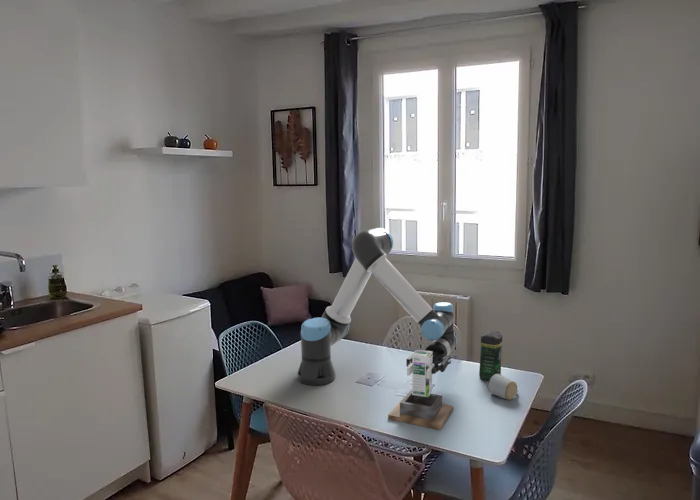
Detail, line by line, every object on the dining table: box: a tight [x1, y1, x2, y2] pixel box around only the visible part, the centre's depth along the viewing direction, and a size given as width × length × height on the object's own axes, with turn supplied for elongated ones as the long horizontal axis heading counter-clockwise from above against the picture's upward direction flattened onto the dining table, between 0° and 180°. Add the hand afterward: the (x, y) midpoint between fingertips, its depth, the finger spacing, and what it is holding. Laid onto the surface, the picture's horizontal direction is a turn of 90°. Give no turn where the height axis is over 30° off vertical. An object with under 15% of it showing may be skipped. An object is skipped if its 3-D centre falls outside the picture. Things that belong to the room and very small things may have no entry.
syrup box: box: [411, 349, 433, 397], centre depth 179 cm, size 6×6×14 cm
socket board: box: [387, 389, 454, 431], centre depth 181 cm, size 18×16×6 cm
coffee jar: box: [478, 330, 503, 382], centre depth 212 cm, size 10×8×19 cm
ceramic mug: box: [487, 374, 519, 400], centre depth 195 cm, size 11×8×8 cm
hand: (417, 373), depth 174 cm, fingers closed on syrup box, 6 cm apart
